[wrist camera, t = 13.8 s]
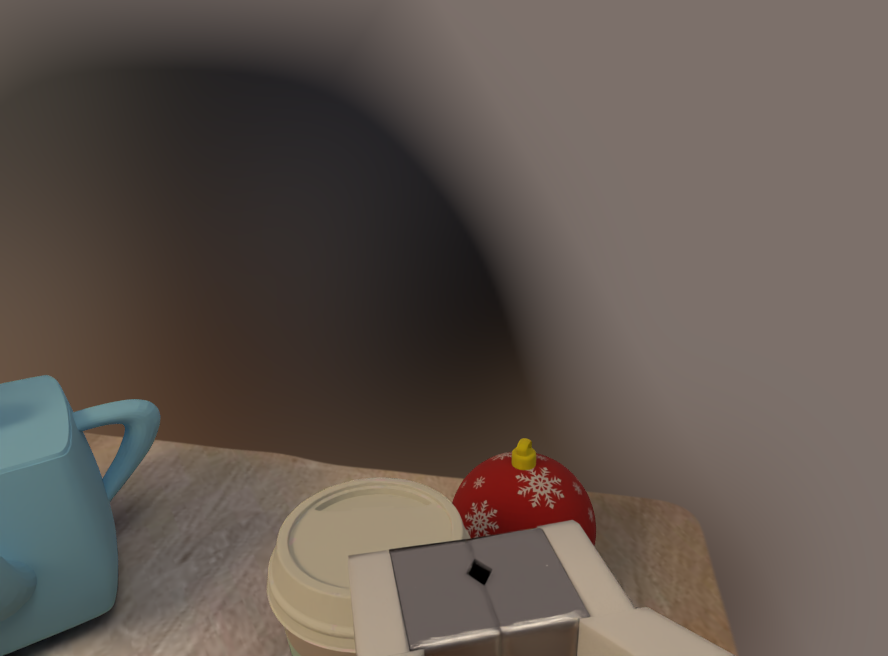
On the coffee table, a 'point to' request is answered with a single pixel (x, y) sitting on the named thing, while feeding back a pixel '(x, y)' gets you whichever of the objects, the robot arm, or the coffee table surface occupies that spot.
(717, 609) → the coffee table surface
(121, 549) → the coffee table surface
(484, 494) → the christmas ornament
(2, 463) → the teapot
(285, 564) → the coffee cup
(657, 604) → the coffee table surface
